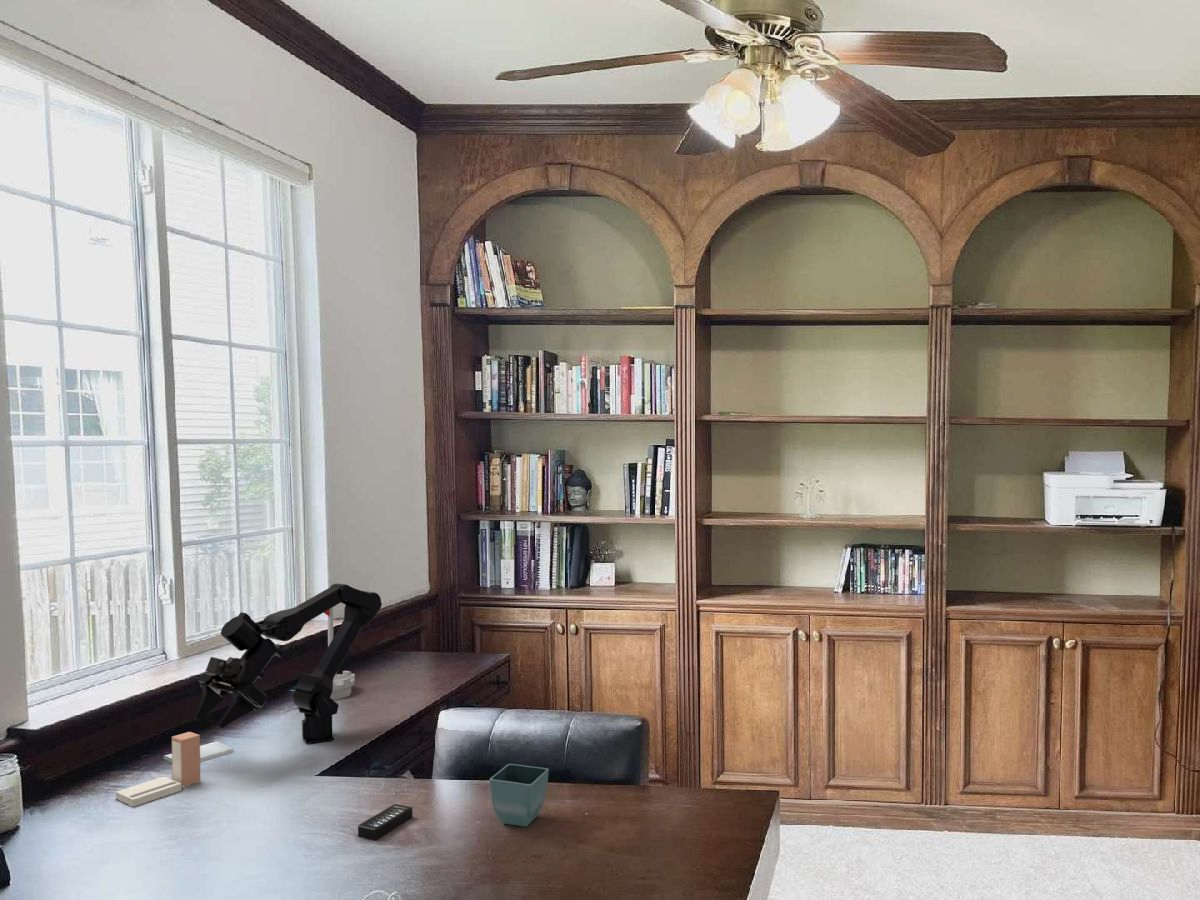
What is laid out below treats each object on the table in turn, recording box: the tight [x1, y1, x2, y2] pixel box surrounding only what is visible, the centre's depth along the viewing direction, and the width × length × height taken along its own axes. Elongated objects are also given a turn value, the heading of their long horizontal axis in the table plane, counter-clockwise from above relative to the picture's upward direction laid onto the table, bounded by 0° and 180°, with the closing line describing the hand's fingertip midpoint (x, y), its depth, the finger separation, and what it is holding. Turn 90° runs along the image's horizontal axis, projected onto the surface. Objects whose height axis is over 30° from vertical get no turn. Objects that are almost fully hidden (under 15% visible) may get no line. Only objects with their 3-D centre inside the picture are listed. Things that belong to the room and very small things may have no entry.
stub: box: [171, 731, 202, 788], centre depth 189 cm, size 4×4×10 cm
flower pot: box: [488, 763, 550, 827], centre depth 168 cm, size 9×9×9 cm
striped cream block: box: [115, 776, 184, 808], centre depth 183 cm, size 11×7×2 cm, turn 144°
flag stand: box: [323, 607, 356, 701], centre depth 254 cm, size 13×13×30 cm
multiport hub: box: [357, 803, 413, 841], centre depth 166 cm, size 4×11×2 cm, turn 155°
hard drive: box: [163, 741, 234, 764], centre depth 205 cm, size 2×8×12 cm
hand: (207, 723), depth 193 cm, fingers open, 9 cm apart
